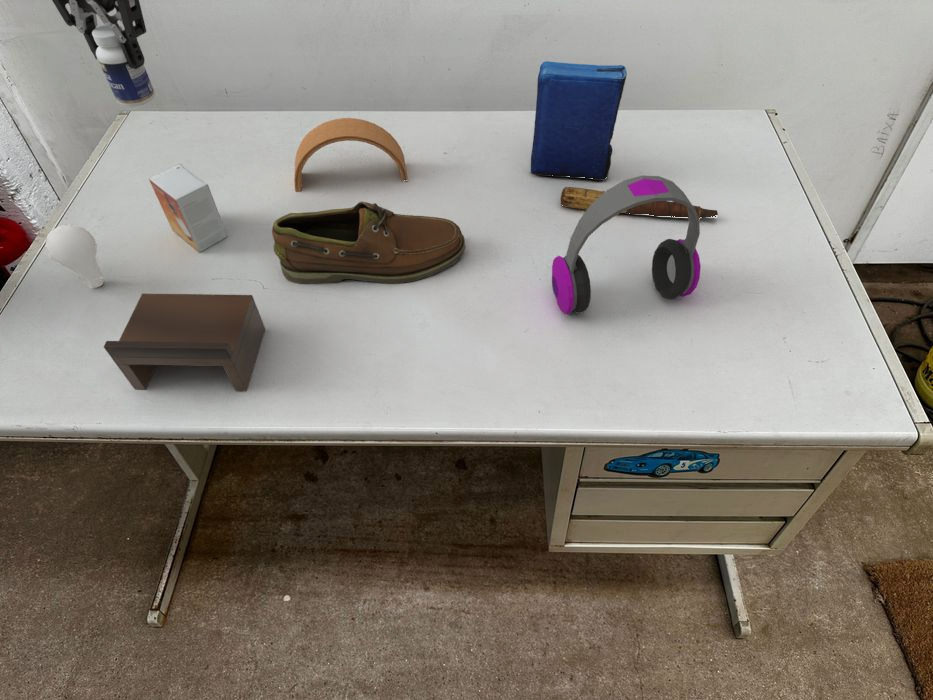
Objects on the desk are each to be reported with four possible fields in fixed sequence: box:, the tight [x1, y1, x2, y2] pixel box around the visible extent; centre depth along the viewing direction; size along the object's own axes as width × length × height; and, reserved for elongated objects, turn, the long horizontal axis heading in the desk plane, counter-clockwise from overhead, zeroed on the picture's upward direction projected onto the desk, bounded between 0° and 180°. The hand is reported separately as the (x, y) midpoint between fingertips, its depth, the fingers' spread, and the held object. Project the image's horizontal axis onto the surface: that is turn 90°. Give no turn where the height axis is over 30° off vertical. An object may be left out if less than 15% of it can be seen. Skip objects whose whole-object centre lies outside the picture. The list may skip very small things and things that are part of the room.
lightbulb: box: [45, 223, 105, 289], centre depth 89 cm, size 6×6×11 cm
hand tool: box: [560, 186, 719, 219], centre depth 103 cm, size 4×26×3 cm, turn 79°
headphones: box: [551, 175, 702, 315], centre depth 84 cm, size 21×9×20 cm, turn 101°
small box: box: [148, 163, 228, 253], centre depth 96 cm, size 8×6×10 cm
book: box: [530, 60, 628, 180], centre depth 103 cm, size 14×5×20 cm, turn 82°
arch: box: [293, 117, 409, 193], centre depth 106 cm, size 6×20×10 cm, turn 98°
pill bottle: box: [92, 24, 156, 108], centre depth 86 cm, size 5×5×10 cm
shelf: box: [103, 293, 266, 392], centre depth 81 cm, size 11×15×9 cm
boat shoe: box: [271, 201, 466, 284], centre depth 92 cm, size 10×29×10 cm, turn 102°
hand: (120, 61), depth 86 cm, fingers closed on pill bottle, 5 cm apart
